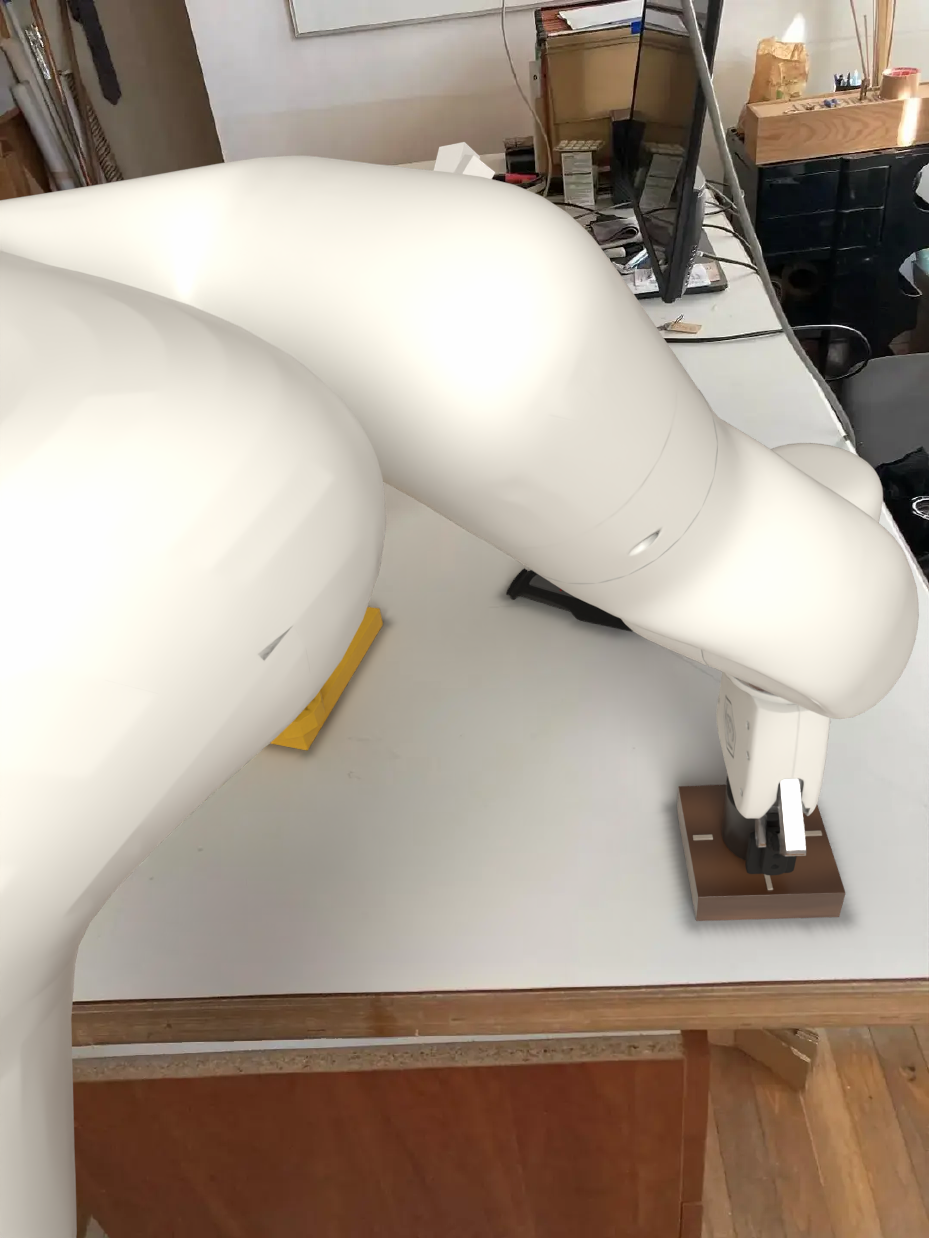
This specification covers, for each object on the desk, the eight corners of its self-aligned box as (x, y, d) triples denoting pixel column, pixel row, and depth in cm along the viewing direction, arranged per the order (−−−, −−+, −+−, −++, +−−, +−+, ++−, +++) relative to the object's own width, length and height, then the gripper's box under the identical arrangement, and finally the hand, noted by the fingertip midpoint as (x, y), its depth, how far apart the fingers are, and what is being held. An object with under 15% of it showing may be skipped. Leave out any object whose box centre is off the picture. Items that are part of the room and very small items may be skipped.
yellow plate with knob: (312, 760, 83) (302, 729, 80) (189, 736, 87) (176, 706, 84) (391, 625, 96) (385, 595, 94) (281, 610, 100) (273, 581, 98)
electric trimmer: (637, 648, 90) (637, 623, 88) (504, 599, 98) (502, 575, 96) (654, 626, 92) (656, 601, 90) (523, 580, 100) (521, 556, 98)
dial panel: (839, 917, 66) (846, 891, 64) (695, 921, 67) (698, 895, 65) (805, 805, 73) (810, 779, 71) (676, 810, 74) (678, 784, 72)
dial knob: (800, 863, 66) (809, 816, 63) (728, 865, 67) (733, 818, 63) (784, 807, 70) (792, 760, 67) (716, 809, 70) (721, 763, 67)
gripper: (699, 562, 63) (688, 741, 75) (750, 754, 50) (726, 936, 61) (813, 555, 62) (784, 736, 74) (895, 747, 49) (844, 933, 61)
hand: (758, 825), depth 67 cm, fingers open, 6 cm apart
